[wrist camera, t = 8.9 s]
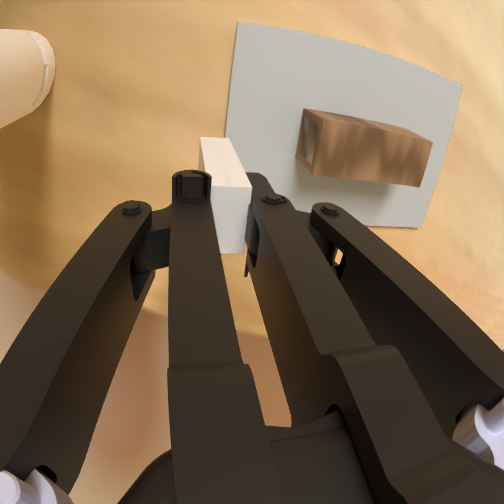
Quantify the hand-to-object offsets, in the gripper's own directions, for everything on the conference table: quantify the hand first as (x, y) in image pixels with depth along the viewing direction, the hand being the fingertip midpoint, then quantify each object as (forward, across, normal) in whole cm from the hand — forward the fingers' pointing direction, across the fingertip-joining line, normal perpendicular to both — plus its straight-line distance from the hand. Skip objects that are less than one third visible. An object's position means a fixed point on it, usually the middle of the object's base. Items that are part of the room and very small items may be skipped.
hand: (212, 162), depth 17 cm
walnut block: (+8, +8, 0) cm, 11 cm away
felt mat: (+10, +14, 0) cm, 17 cm away
